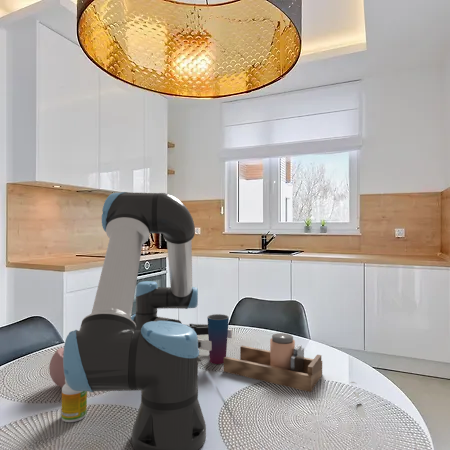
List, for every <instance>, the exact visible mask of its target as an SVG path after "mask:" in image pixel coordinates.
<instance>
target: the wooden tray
mask: <svg viewBox="0 0 450 450" xmlns="http://www.w3.org/2000/svg"><path fill="white" fill-rule="evenodd" d="M239 350H240V351H239V352H240V354H239V355H240V357H239V359H238V358H234V357H230V356H226V357H224V363H223V372H224V373H228V374H232V375H236V376H241V377H245V378H250V379H253V380H257V381H261V382H262V381H263V382H266V383H270V384H274V385H279V386H282V387H287V388H290V389H291V388H292V389H297V390H300V391H305V392H309V393H312V391H313V390H314V388H315V386H316V385H317V384H318V382H319V381H320V380H321V377H322V376H323V360H322V355H321V354H316V355H315V357H314V358H310V357H305V356H304V372H303V373H301V372H296V371H291V370H287V369H282V368H277V367H272V366H270V350H268V349H263V348H256V347H252V346H247V345H240V348H239Z"/></svg>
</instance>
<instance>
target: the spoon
mask: <svg viewBox="0 0 450 450" xmlns="http://www.w3.org/2000/svg"><path fill="white" fill-rule="evenodd" d="M349 384H357V382H355V381H351V382H349ZM353 394H354V395H355V397H356V398H357V399H359V398H360V395H359V394H360V392H355V391H353ZM356 406H357V416H358V415H359V417H360V418H365V417H366V416H367V413H366V411H365V409H364V407H363V404H362V403H357V404H356Z"/></svg>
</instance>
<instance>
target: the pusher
mask: <svg viewBox="0 0 450 450" xmlns="http://www.w3.org/2000/svg"><path fill="white" fill-rule="evenodd" d="M304 357H305V348H304V347H302V345H301V344H297V345H295V348H294V355H293V356H292V357H291V371H296V372H301V373H303V372H304Z"/></svg>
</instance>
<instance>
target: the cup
mask: <svg viewBox="0 0 450 450" xmlns="http://www.w3.org/2000/svg"><path fill="white" fill-rule="evenodd" d="M229 318H230V317H229V316H228V315H226V314H221V313H217V314H216V313H214V314H210V315H208V316H207V325H208V341H212V347H211V351H208V354H209V355H208V356H209V363H211V364H214V365H221V364H222V365H224V357H227V347H228V338H227V336H228V329H229V321H230V320H229Z"/></svg>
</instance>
